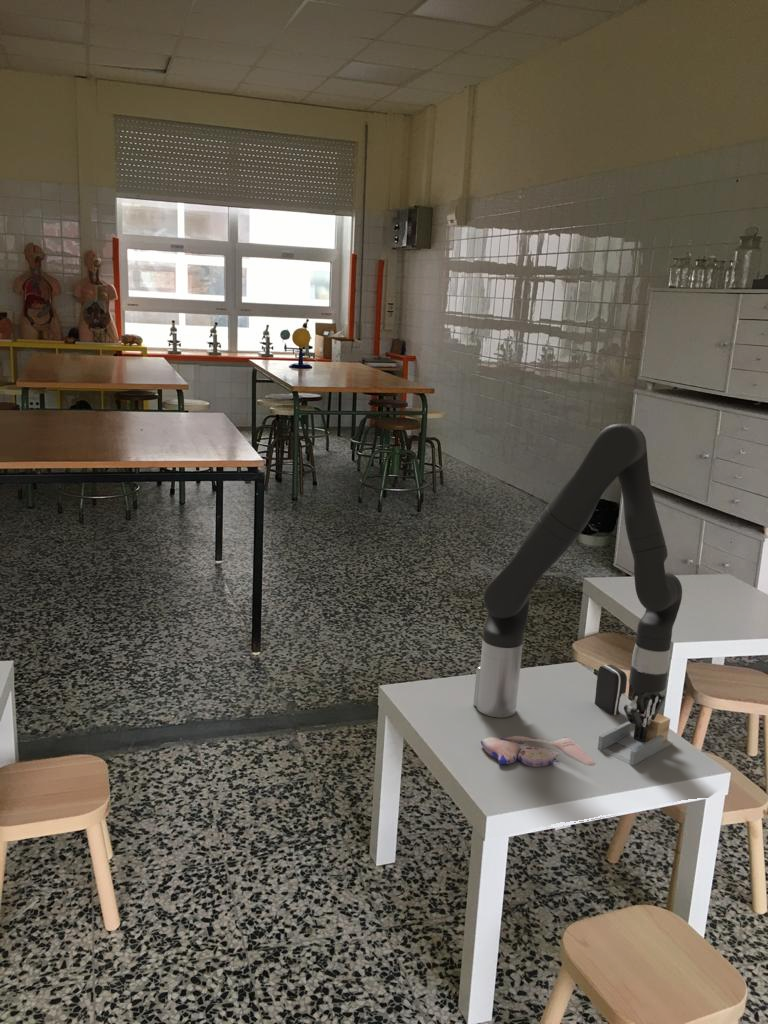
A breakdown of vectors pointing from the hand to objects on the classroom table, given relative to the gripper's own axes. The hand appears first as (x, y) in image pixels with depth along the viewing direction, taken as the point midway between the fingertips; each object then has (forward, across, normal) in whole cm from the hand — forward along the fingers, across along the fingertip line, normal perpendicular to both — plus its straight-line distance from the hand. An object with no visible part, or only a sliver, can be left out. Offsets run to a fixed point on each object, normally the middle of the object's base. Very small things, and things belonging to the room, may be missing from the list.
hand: (639, 739), depth 183 cm
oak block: (+1, -5, 0) cm, 5 cm away
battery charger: (+2, -10, -14) cm, 18 cm away
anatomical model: (+3, +21, -11) cm, 24 cm away
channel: (+2, +1, 0) cm, 3 cm away
